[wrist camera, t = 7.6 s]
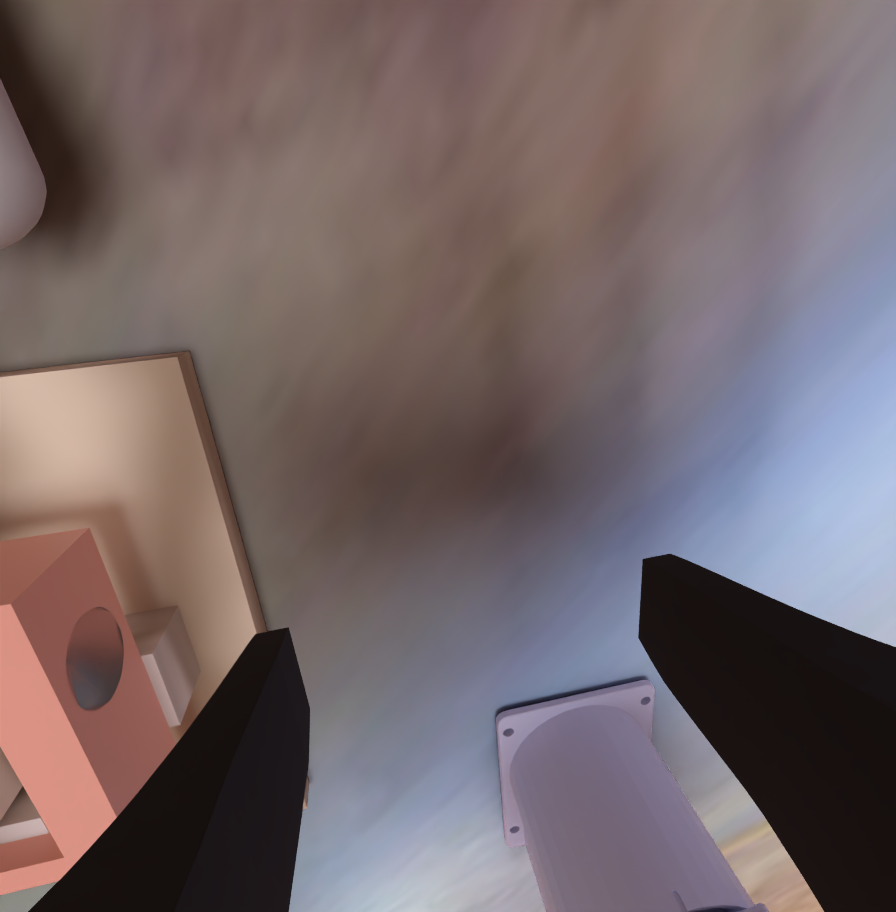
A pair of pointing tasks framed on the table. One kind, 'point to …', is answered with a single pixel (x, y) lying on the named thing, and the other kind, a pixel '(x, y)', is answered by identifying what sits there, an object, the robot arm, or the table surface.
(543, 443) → the table surface
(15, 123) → the clip-on lamp
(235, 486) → the table surface
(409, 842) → the table surface
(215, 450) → the architectural building model
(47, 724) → the u-shaped bracket
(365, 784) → the table surface
